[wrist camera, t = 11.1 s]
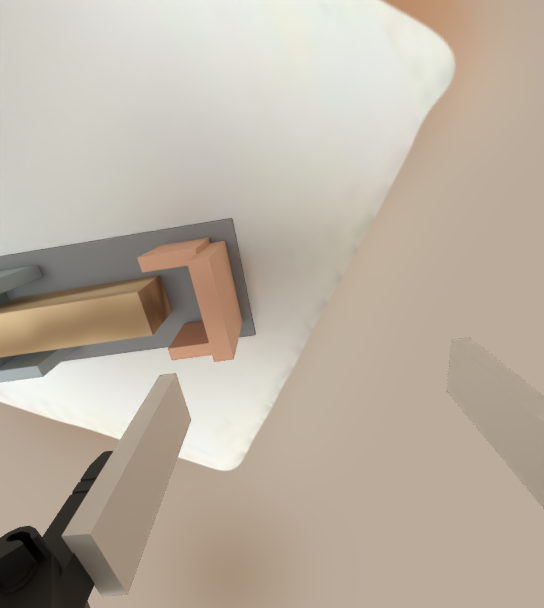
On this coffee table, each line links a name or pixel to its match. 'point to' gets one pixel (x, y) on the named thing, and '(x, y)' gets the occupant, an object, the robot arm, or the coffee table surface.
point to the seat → (105, 269)
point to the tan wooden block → (83, 316)
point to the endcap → (203, 297)
